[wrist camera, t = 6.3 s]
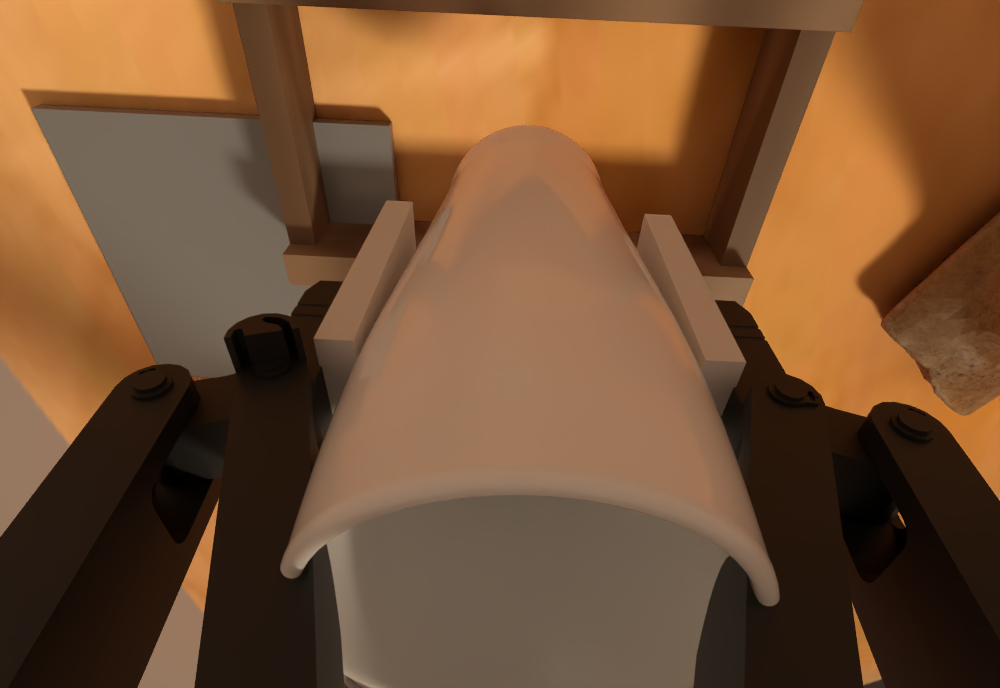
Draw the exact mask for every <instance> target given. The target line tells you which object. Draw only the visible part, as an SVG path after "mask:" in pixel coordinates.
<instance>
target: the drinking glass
mask: <svg viewBox="0 0 1000 688" xmlns="http://www.w3.org/2000/svg"><path fill="white" fill-rule="evenodd" d="M325 544H327V548H328V553H329V558H330V563H331V569H332V575H333V581H334V587H335V594H336V601H337V608H338V615H339V623H340V631H341V643H342V658H343V673H344V675H345V676H347V677H349V678H351V679H352V680H354V681H356V682H359V683H361V684H363V685H365V686H367V687H370V688H693V686H694V676H695V665H696V655H697V651H698V646H699V642H700V637H701V632H702V628H703V624H704V620H705V616H706V612H707V608H708V604H709V600H710V597H711V594H712V590H713V587H714V584H715V581H716V579H717V576H718V573H719V571H720V568H721V566H722V565H723V563H724V561H725V560H726V558H727V557H728V556H731V557H732V558H733V559H734V560H735V561H736V562H737V563H738V564H739V565H740V566H741V567H742V568H743V570H744V571H745V572H746V573H747V575H748V577H749V580H750V583H751V586H752V589H753V591H754V593H755V595H756V597H757V599H758V600H759V602H760V603H761V604H763V605H765V606H774V605H776V604H777V603H778V602H779V599H780V593H779V585H778V580H777V577H776V574H775V571H774V568H773V565H772V563H771V560H770V558H769V555H768V552H767V549H766V546H765V543H764V539H763V536H762V533H761V530H760V527H759V524H758V521H757V517H756V514H755V511H754V508H753V505H752V502H751V499H750V496H749V493H748V490H747V487H746V484H745V481H744V479H743V476H742V473H741V470H740V467H739V464H738V461H737V458H736V455H735V453H734V450H733V447H732V444H731V442H730V439H729V436H728V434H727V431H726V428H725V426H724V423H723V420H722V418H721V415H720V413H719V410H718V408H717V405H716V403H715V400H714V398H713V396H712V393H711V391H710V388H709V386H708V384H707V381H706V379H705V377H704V375H703V372H702V370H701V368H700V366H699V364H698V362H697V359H696V357H695V355H694V353H693V351H692V349H691V347H690V345H689V343H688V341H687V339H686V337H685V335H684V333H683V331H682V329H681V328H680V326H679V324H678V322H677V320H676V318H675V316H674V314H673V313H672V311H671V309H670V307H669V305H668V303H667V302H666V300H665V298H664V296H663V295H662V293H661V291H660V289H659V287H658V286H657V284H656V282H655V280H654V279H653V277H652V275H651V273H650V272H649V270H648V268H647V266H646V265H645V263H644V261H643V259H642V258H641V256H640V254H639V252H638V251H637V249H636V247H635V245H634V244H633V242H632V240H631V238H630V236H629V235H628V233H627V231H626V229H625V227H624V226H623V224H622V222H621V220H620V218H619V217H618V215H617V213H616V211H615V209H614V208H613V206H612V204H611V202H610V200H609V198H608V197H607V195H606V193H605V191H604V188H603V185H602V182H601V179H600V176H599V173H598V171H597V169H596V167H595V165H594V163H593V161H592V160H591V158H590V157H589V155H588V154H587V153H586V152H585V151H584V150H583V149H582V148H581V147H580V146H579V145H578V144H577V143H576V142H575V141H573V140H572V139H571V138H569V137H567V136H566V135H564V134H562V133H560V132H558V131H555V130H553V129H550V128H546V127H541V126H534V125H521V126H513V127H508V128H505V129H501V130H499V131H496V132H494V133H492V134H490V135H488V136H486V137H485V138H483V139H482V140H480V141H479V142H478V143H477V144H475V145H474V146H473V147H472V148H471V149H470V150H469V151H468V152H467V154H466V155H465V156H464V157H463V159H462V160H461V162H460V163H459V165H458V167H457V169H456V171H455V174H454V176H453V179H452V181H451V185H450V188H449V191H448V193H447V195H446V197H445V198H444V200H443V202H442V204H441V206H440V208H439V209H438V211H437V213H436V215H435V217H434V218H433V220H432V222H431V224H430V226H429V227H428V229H427V231H426V233H425V235H424V236H423V238H422V240H421V242H420V243H419V245H418V247H417V249H416V250H415V252H414V254H413V256H412V257H411V259H410V261H409V263H408V264H407V266H406V268H405V270H404V271H403V273H402V275H401V277H400V278H399V280H398V282H397V284H396V286H395V287H394V289H393V291H392V293H391V294H390V296H389V298H388V300H387V301H386V303H385V305H384V307H383V309H382V311H381V312H380V314H379V316H378V318H377V320H376V322H375V323H374V325H373V327H372V329H371V331H370V333H369V335H368V337H367V339H366V341H365V343H364V345H363V347H362V349H361V351H360V353H359V355H358V357H357V359H356V361H355V364H354V366H353V368H352V370H351V372H350V374H349V377H348V379H347V381H346V384H345V386H344V388H343V391H342V393H341V395H340V398H339V400H338V403H337V405H336V408H335V410H334V413H333V415H332V418H331V420H330V423H329V426H328V428H327V431H326V434H325V436H324V439H323V442H322V444H321V447H320V450H319V453H318V456H317V459H316V461H315V464H314V467H313V470H312V473H311V476H310V479H309V481H308V484H307V487H306V490H305V493H304V496H303V499H302V502H301V506H300V509H299V512H298V515H297V518H296V521H295V524H294V527H293V530H292V533H291V536H290V539H289V542H288V545H287V548H286V550H285V552H284V555H283V558H282V561H281V565H280V570H281V573H282V574H283V575H284V576H285V577H287V578H292V579H293V578H297V577H298V576H300V575H301V573H302V572H303V570H304V568H305V566H306V564H307V563H308V561H309V560H310V559H311V558H312V557H313V556H314V554H315V553H316V552H317V551H318V550H319V549H320V548H322V547H323V546H324V545H325Z"/></svg>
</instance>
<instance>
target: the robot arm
mask: <svg viewBox="0 0 1000 688" xmlns="http://www.w3.org/2000/svg"><path fill="white" fill-rule="evenodd" d="M415 250H416V240H415V226H414V211H413V202H409V201H389V200H387V201H386V202H385V204H384V206H383V208H382V210H381V212H380V214H379V216H378V217H377V219H376V221H375V223H374V225H373V227H372V229H371V231H370V233H369V234H368V236H367V238H366V240H365V242H364V244H363V246H362V248H361V250H360V251H359V253H358V255H357V257H356V259H355V261H354V263H353V265H352V267H351V268H350V270H349V272H348V274H347V276H346V278H345V280H344V282H343V281H324V280H320V281H319V282H317V283H316V284H314V285H313V286H312V287H310V288H309V289H307V290H306V291H305V292H304V294H303V295H302V297H301V299H300V300H299V302H298V303H297V304H298V305H297V306H296V307H295V308H294V310H293V311H292V313H291V316H288V315H283V314H279V313H264V314H259V315H255V316H250V317H248V318H246V319H243V320H241V321H239V322H237V323H236V324H234V325H233V326H232V327H231V328H230V329H228V330H227V332H226V334H225V336H224V341H225V344H226V347H227V350H228V352H229V355H230V358H231V361H232V363H233V366H234V369H235V372H236V373H235V374H231V375H227V376H222V377H216V378H210V379H204V380H198V381H193V379H192V377H191V375H190V372H189V370H188V369H186V368H184V367H182V366H181V365H175V364H160V365H153V366H150V367H147V368H143V369H141V370H138V371H136V372H134V373H132V374H131V375H129V376H127V377H125V378H124V379H123V380H122V381H121V382H120V383H119V384H118V385H116V386H115V388H114V389H113V390H112V391H111V393H110V394H109V395H108V397H107V398H106V399H105V401H104V402H103V403H102V405H101V406H100V407H99V409H98V410H97V411H96V412H95V414H94V415H93V416H92V418H91V419H90V420H89V422H88V423H87V424H86V426H85V427H84V428H83V430H82V431H81V432H80V433H79V435H78V436H77V437H76V439H75V440H74V441H73V443H72V444H71V445H70V447H69V448H68V449H67V451H66V452H65V453H64V454H63V456H62V457H61V459H60V460H59V461H58V462H57V464H56V465H55V466H54V468H53V469H52V470H51V472H50V473H49V474H48V475H47V477H46V478H45V479H44V481H43V482H42V483H41V485H40V486H39V487H38V489H37V490H36V491H35V493H34V494H33V495H32V496H31V498H30V499H29V501H28V502H27V503H26V505H25V506H24V507H23V508H22V510H21V511H20V512H19V514H18V515H17V516H16V518H15V519H14V520H13V521H12V523H11V524H10V525H9V527H8V528H7V529H6V531H5V532H4V533H3V535H2V536H1V537H0V688H137V687H138V685H139V683H140V680H141V678H142V676H143V673H144V671H145V669H146V666H147V664H148V662H149V659H150V657H151V655H152V652H153V650H154V648H155V645H156V643H157V641H158V638H159V636H160V634H161V631H162V629H163V627H164V624H165V622H166V620H167V617H168V615H169V613H170V610H171V608H172V606H173V603H174V601H175V599H176V596H177V594H178V592H179V589H180V587H181V585H182V582H183V580H184V578H185V575H186V573H187V571H188V568H189V566H190V564H191V562H192V559H193V557H194V555H195V552H196V550H197V548H198V545H199V543H200V541H201V538H202V536H203V534H204V531H205V529H206V527H207V524H208V522H209V520H210V517H211V515H212V513H213V510H214V508H215V506H216V503H217V501H218V499H219V504H218V511H217V519H216V527H215V534H214V542H213V550H212V557H211V565H210V573H209V580H208V588H207V596H206V603H205V611H204V619H203V627H202V634H201V641H200V649H199V657H198V664H197V672H196V680H195V688H344V673H343V658H342V643H341V631H340V623H339V615H338V608H337V601H336V594H335V587H334V581H333V575H332V569H331V563H330V558H329V553H328V548H327V544H325V545H324V546H323V547H322V548H320V549H319V550H318V551H317V552H316V553H315V554H314V556H313V557H312V558H311V559H310V560H309V561H308V563H307V564H306V566H305V568H304V570H303V572H302V573H301V575H300V576H298V577H297V578H293V579H292V578H287V577H285V576H284V575H283V574H282V573H281V570H280V565H281V561H282V558H283V555H284V552H285V550H286V548H287V545H288V542H289V539H290V536H291V533H292V530H293V527H294V524H295V521H296V518H297V515H298V512H299V509H300V506H301V502H302V499H303V496H304V493H305V490H306V487H307V484H308V481H309V479H310V476H311V473H312V470H313V467H314V464H315V461H316V459H317V456H318V453H319V450H320V447H321V444H322V442H323V439H324V436H325V434H326V431H327V428H328V426H329V423H330V420H331V418H332V415H333V413H334V410H335V408H336V405H337V403H338V400H339V398H340V395H341V393H342V391H343V388H344V386H345V384H346V381H347V379H348V377H349V374H350V372H351V370H352V368H353V366H354V364H355V361H356V359H357V357H358V355H359V353H360V351H361V349H362V347H363V345H364V343H365V341H366V339H367V337H368V335H369V333H370V331H371V329H372V327H373V325H374V323H375V322H376V320H377V318H378V316H379V314H380V312H381V311H382V309H383V307H384V305H385V303H386V301H387V300H388V298H389V296H390V294H391V293H392V291H393V289H394V287H395V286H396V284H397V282H398V280H399V278H400V277H401V275H402V273H403V271H404V270H405V268H406V266H407V264H408V263H409V261H410V259H411V257H412V256H413V254H414V252H415ZM637 251H638V252H639V254H640V256H641V258H642V259H643V261H644V263H645V265H646V266H647V268H648V270H649V272H650V273H651V275H652V277H653V279H654V280H655V282H656V284H657V286H658V287H659V289H660V291H661V293H662V295H663V296H664V298H665V300H666V302H667V303H668V305H669V307H670V309H671V311H672V313H673V314H674V316H675V318H676V320H677V322H678V324H679V326H680V328H681V329H682V331H683V333H684V335H685V337H686V339H687V341H688V343H689V345H690V347H691V349H692V351H693V353H694V355H695V357H696V359H697V362H698V364H699V366H700V368H701V370H702V372H703V375H704V377H705V379H706V381H707V384H708V386H709V388H710V391H711V393H712V396H713V398H714V400H715V403H716V405H717V408H718V410H719V413H720V415H721V418H722V420H723V423H724V426H725V428H726V431H727V434H728V436H729V439H730V442H731V444H732V447H733V450H734V453H735V455H736V458H737V461H738V464H739V467H740V470H741V473H742V476H743V479H744V481H745V484H746V487H747V490H748V493H749V496H750V499H751V502H752V505H753V508H754V511H755V514H756V517H757V521H758V524H759V527H760V530H761V533H762V536H763V539H764V543H765V546H766V549H767V552H768V555H769V558H770V560H771V563H772V565H773V568H774V571H775V574H776V577H777V580H778V585H779V593H780V599H779V602H778V603H777V604H776V605H774V606H765V605H763V604H761V603H760V602H759V600H758V599H757V597H756V595H755V593H754V591H753V589H752V586H751V583H750V580H749V577H748V575H747V573H746V572H745V571H744V570H743V568H742V567H741V566H740V565H739V564H738V563H737V562H736V561H735V560H734V559H733V558H732V557H731V556H728V557H727V558H726V560H725V561H724V563H723V565H722V566H721V568H720V571H719V573H718V576H717V579H716V581H715V584H714V587H713V590H712V594H711V597H710V600H709V604H708V608H707V612H706V616H705V620H704V624H703V628H702V632H701V637H700V642H699V646H698V651H697V655H696V665H695V676H694V686H693V688H863V681H862V674H861V666H860V659H859V652H858V644H857V637H856V630H855V622H854V615H853V607H852V603H853V605H854V608H855V611H856V613H857V616H858V618H859V621H860V623H861V626H862V629H863V631H864V634H865V636H866V639H867V641H868V644H869V647H870V649H871V652H872V654H873V657H874V659H875V662H876V664H877V667H878V670H879V672H880V675H881V677H882V680H883V682H884V685H885V688H1000V501H999V499H998V498H997V496H996V495H995V494H994V492H993V491H992V489H991V488H990V487H989V485H988V484H987V483H986V481H985V480H984V478H983V477H982V476H981V474H980V473H979V472H978V470H977V469H976V467H975V466H974V465H973V463H972V462H971V460H970V459H969V458H968V456H967V455H966V454H965V452H964V451H963V449H962V448H961V447H960V445H959V444H958V442H957V441H956V440H955V438H954V437H953V436H952V434H951V433H950V431H949V430H948V429H947V428H946V427H945V426H944V425H943V424H942V423H941V422H940V421H938V420H937V419H935V418H934V417H932V416H931V415H929V414H928V413H926V412H924V411H922V410H920V409H917V408H915V407H913V406H910V405H906V404H901V403H897V402H882V403H880V404H877V405H875V406H874V407H873V408H872V410H871V411H870V413H869V414H868V416H867V417H864V416H860V415H856V414H852V413H849V412H845V411H841V410H837V409H834V408H831V407H828V406H825V403H824V401H823V399H822V396H821V395H820V394H819V393H818V392H817V391H816V390H815V389H814V388H813V387H812V386H811V385H809V384H807V383H806V382H804V381H802V380H801V379H798V378H796V377H793V376H790V375H787V374H786V373H785V371H784V369H783V368H782V366H781V364H780V363H779V361H778V359H777V357H776V356H775V354H774V352H773V351H772V349H771V347H770V346H769V344H768V342H767V341H765V337H764V335H763V334H762V332H761V330H760V329H758V325H757V324H756V322H755V320H754V318H753V317H752V315H751V313H749V312H748V311H747V310H746V309H744V308H743V307H742V306H741V305H739V304H738V303H737V302H736V301H725V300H714V298H713V296H712V294H711V292H710V290H709V288H708V286H707V284H706V282H705V281H704V279H703V277H702V275H701V273H700V271H699V269H698V267H697V265H696V263H695V261H694V259H693V257H692V255H691V253H690V251H689V249H688V247H687V245H686V243H685V241H684V240H683V238H682V236H681V234H680V232H679V230H678V228H677V226H676V224H675V222H674V220H673V218H672V216H671V215H659V214H644V218H643V223H642V227H641V232H640V236H639V241H638V246H637ZM898 512H900V514H901V516H902V518H903V520H904V523H905V525H906V527H905V526H904V525H903V523H902V522H901V520H900V518H899V516H898Z"/></svg>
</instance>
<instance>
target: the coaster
mask: <svg viewBox="0 0 1000 688" xmlns="http://www.w3.org/2000/svg"><path fill="white" fill-rule="evenodd" d="M31 110H32V112H33V114H34V116H35V118H36V120H37V122H38V124H39V126H40V128H41V130H42V132H43V134H44V136H45V138H46V140H47V142H48V144H49V146H50V148H51V150H52V152H53V154H54V156H55V158H56V160H57V162H58V164H59V166H60V168H61V170H62V172H63V175H64V177H65V179H66V181H67V183H68V185H69V187H70V189H71V191H72V193H73V195H74V197H75V199H76V201H77V203H78V205H79V207H80V209H81V211H82V213H83V215H84V217H85V219H86V221H87V223H88V225H89V227H90V229H91V231H92V233H93V235H94V237H95V239H96V241H97V243H98V245H99V247H100V249H101V251H102V254H103V256H104V258H105V260H106V262H107V264H108V266H109V268H110V270H111V272H112V274H113V276H114V278H115V280H116V282H117V284H118V286H119V288H120V290H121V292H122V294H123V296H124V298H125V300H126V302H127V304H128V306H129V308H130V310H131V312H132V314H133V316H134V318H135V320H136V322H137V324H138V326H139V328H140V330H141V333H142V335H143V337H144V339H145V341H146V343H147V345H148V347H149V349H150V351H151V353H152V355H153V357H154V359H155V361H156V363H157V365H160V364H175V365H181V366H182V367H184V368H186V369H188V370H189V372H190V375H191V376H195V377H214V378H216V377H222V376H227V375H231V374H235V373H236V372H235V369H234V366H233V363H232V361H231V358H230V355H229V352H228V350H227V347H226V344H225V341H224V336H225V334H226V332H227V330H228V329H230V328H231V327H232V326H233V325H234V324H236V323H237V322H239V321H241V320H243V319H246V318H248V317H250V316H255V315H259V314H264V313H279V314H283V315H288V316H291V313H292V311H293V310H294V308H295V307H296V306H297V305H298V304H297V303H298V302H299V300H300V299H301V297H302V295H303V294H304V292H305V291H306V290H307V289H309V288H310V287H312V286H307V285H290V283H289V279H288V275H287V271H286V267H285V263H284V259H283V256H282V254H283V253H284V251H285V250H286V249H287V247H288V246H289V245H290V242H289V238H288V233H287V229H286V225H285V221H284V217H283V212H282V208H281V204H280V200H279V196H278V192H277V187H276V183H275V179H274V175H273V171H272V166H271V162H270V158H269V154H268V150H267V145H266V141H265V137H264V133H263V129H262V124H261V120H260V116H259V115H239V114H219V113H199V112H178V111H158V110H138V109H118V108H98V107H77V106H57V105H38V106H36V107H33V108H31ZM313 127H314V133H315V138H316V144H317V149H318V155H319V160H320V166H321V172H322V177H323V183H324V188H325V194H326V199H327V205H328V211H329V216H330V222H337V223H356V224H374V223H375V221H376V219H377V217H378V216H379V214H380V212H381V210H382V208H383V206H384V204H385V202H386V201H387V200H389V201H399V198H398V186H397V175H396V164H395V153H394V141H393V130H392V122H381V121H361V120H340V119H320V118H317V119H316V120H315V121H313Z"/></svg>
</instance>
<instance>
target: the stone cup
mask: <svg viewBox="0 0 1000 688" xmlns="http://www.w3.org/2000/svg"><path fill="white" fill-rule="evenodd" d="M881 326H882V328H883V329H884V330H885V331H886V332H887V333H888V334H889V336H890V337H891V338H892V339H893V340H894V341H896V342H897V343H898V344H899V345H900V346H902V347H903V348H904V349H905V350H906V351H907V353H909V354H910V356H911V357H912V358H913V359H915V360H916V363H917V365H918V367H919V369H920V371H921V373H922V375H923V377H924V379H925V380H927V381H928V382H929V383H930V384H931V385H932V387H933V389H934V393H935V394H936V395H937V396H938V397H939V398H940V399H941V400H942V401H943V402H944V403H945V404H946V405H947V406H948V407H949V408H950V409H952V410H953V411H955V412H956V413H958V414H960V415H963V416H965V415H969V414H972V413H973V412H975V411H976V410H978V409H979V408H981V407H982V406H984V405H985V404H987V403H988V402H990V401H991V400H993V399H994V398H996V397H997V396H999V395H1000V212H999V213H998V214H997V215H995V216H994V217H993V218H992V219H991V220H990V221H988V222H987V223H986V224H985V225H984V226H983V227H982V228H981V229H980V230H979V231H978V232H977V233H975V234H974V235H973V236H972V237H971V238H970V239H969V240H967V241H966V242H965V243H964V244H963V245H962V246H960V247H959V248H958V249H957V250H956V251H955V252H954V253H953V254H952V255H950V256H949V257H948V258H947V259H946V260H945V261H944V262H943V263H942V264H941V265H940V266H939V267H937V268H936V269H935V270H934V271H933V272H932V273H931V274H930V275H929V276H928V277H927V278H926V279H924V280H923V281H922V282H921V283H920V284H919V285H918V286H917V287H916V288H914V289H913V290H912V291H911V292H910V293H909V294H908V295H907V296H906V297H904V298H903V299H902V300H901V301H900V302H899V303H898V304H897V305H896V306H895V307H894V308H893V309H892V310H891V311H890V312H889V313H888V314H887V315H886V316H885V317H884V318H883V319H882V322H881Z"/></svg>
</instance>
